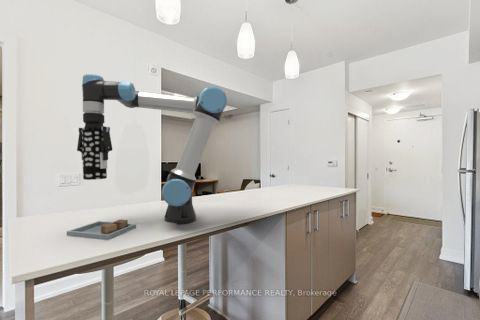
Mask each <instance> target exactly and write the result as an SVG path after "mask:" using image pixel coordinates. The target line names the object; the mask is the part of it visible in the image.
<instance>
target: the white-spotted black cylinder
mask: <svg viewBox="0 0 480 320" xmlns="http://www.w3.org/2000/svg"><path fill="white" fill-rule="evenodd" d="M100 140H102V141H103V140H104V139H103V133H102V130H94V129H84V130H82V148H83V160H82V174H83V175H82V177H83V178H82V179H83V180H87V181H90V180H94V181H96V180H105V179H107V178H108V177H107V176H108V175H107V174H108V173H107V169H108V168H104V169H100V153H103V152H100V151H101V148H100Z"/></svg>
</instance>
